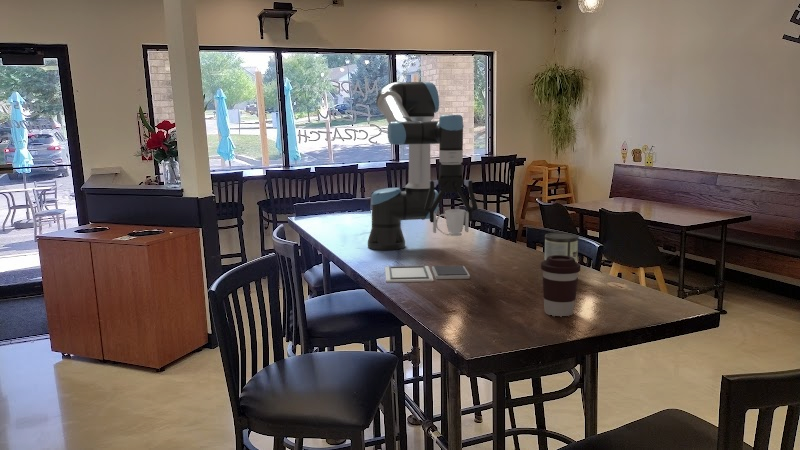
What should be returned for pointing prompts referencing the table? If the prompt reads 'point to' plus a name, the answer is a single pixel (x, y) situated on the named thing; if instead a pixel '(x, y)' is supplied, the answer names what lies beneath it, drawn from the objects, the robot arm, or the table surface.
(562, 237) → the coffee can
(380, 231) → the robot arm
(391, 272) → the board
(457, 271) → the ink pad
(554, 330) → the table surface
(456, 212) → the cup
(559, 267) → the coffee cup
